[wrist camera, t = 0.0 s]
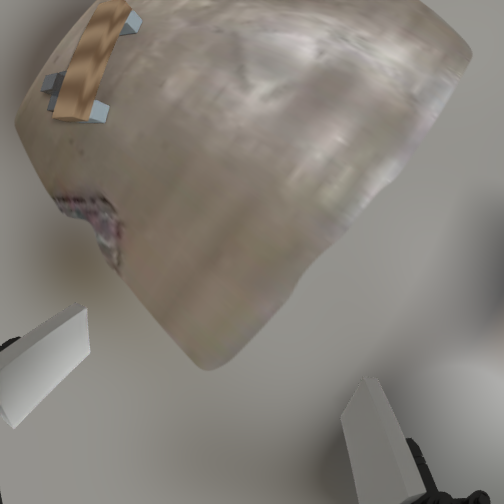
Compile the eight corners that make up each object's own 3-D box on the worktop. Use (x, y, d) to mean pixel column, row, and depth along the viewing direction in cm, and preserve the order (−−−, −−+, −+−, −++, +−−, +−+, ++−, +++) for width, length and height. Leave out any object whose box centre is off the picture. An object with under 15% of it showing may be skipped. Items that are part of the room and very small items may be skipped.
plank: (109, 13, 27) (99, 3, 23) (132, 8, 27) (122, -3, 23) (67, 121, 32) (51, 117, 28) (88, 121, 32) (72, 116, 28)
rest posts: (116, 24, 31) (106, 15, 27) (142, 20, 31) (133, 10, 27) (80, 123, 36) (66, 119, 32) (105, 123, 35) (91, 118, 31)
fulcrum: (65, 74, 33) (43, 65, 27) (93, 70, 33) (71, 57, 26) (53, 111, 35) (29, 105, 28) (80, 109, 35) (55, 101, 28)
